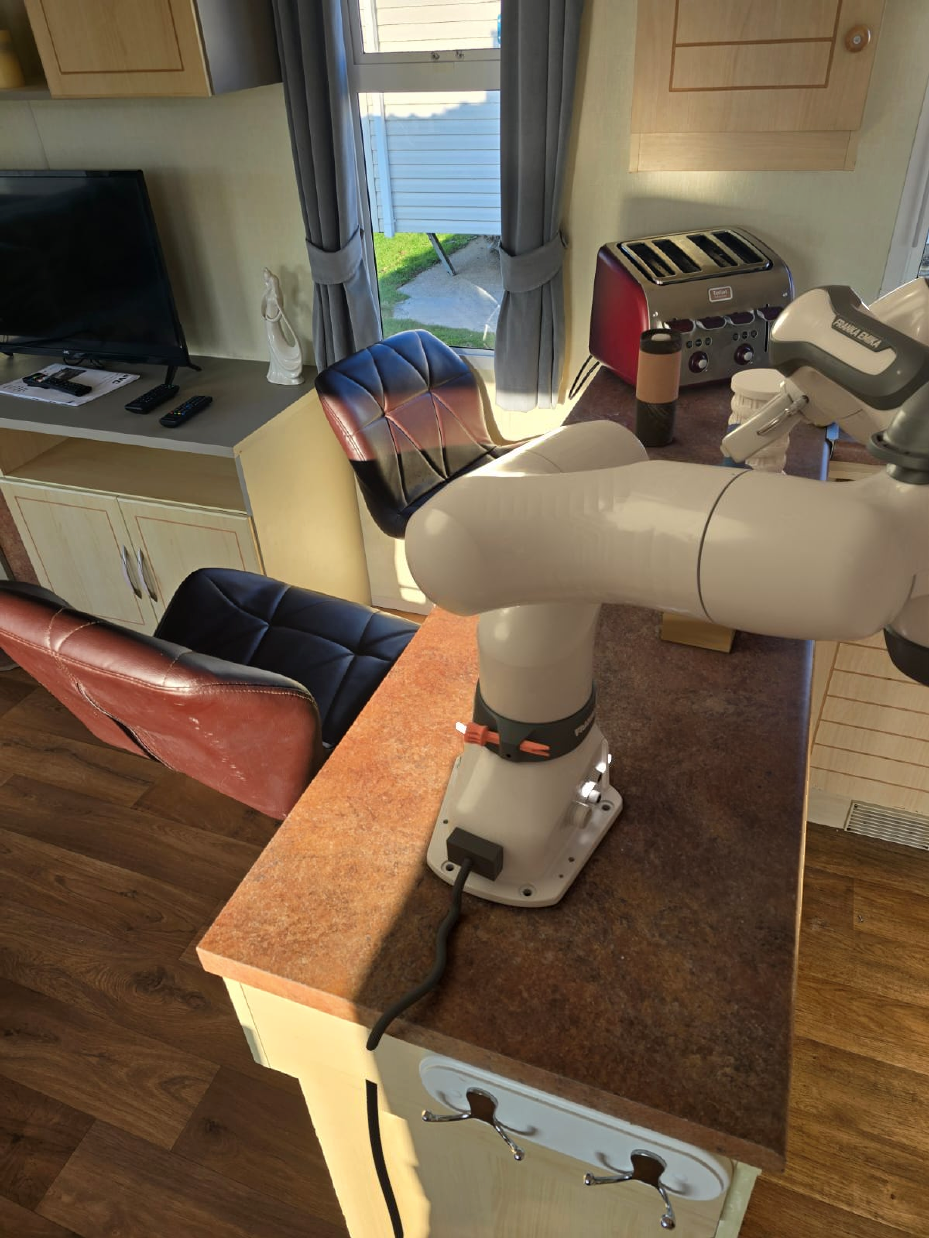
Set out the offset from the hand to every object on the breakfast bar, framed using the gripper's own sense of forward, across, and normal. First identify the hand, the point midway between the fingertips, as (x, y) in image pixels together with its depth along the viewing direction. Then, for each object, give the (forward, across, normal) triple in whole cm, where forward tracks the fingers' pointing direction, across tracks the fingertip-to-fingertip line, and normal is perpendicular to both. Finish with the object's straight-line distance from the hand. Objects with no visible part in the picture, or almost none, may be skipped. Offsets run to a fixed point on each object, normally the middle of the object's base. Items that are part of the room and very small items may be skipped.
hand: (731, 445), depth 111 cm
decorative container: (+20, +32, -9) cm, 39 cm away
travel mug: (+36, +39, +7) cm, 54 cm away
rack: (+13, -6, -16) cm, 22 cm away
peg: (+7, 0, -8) cm, 10 cm away
